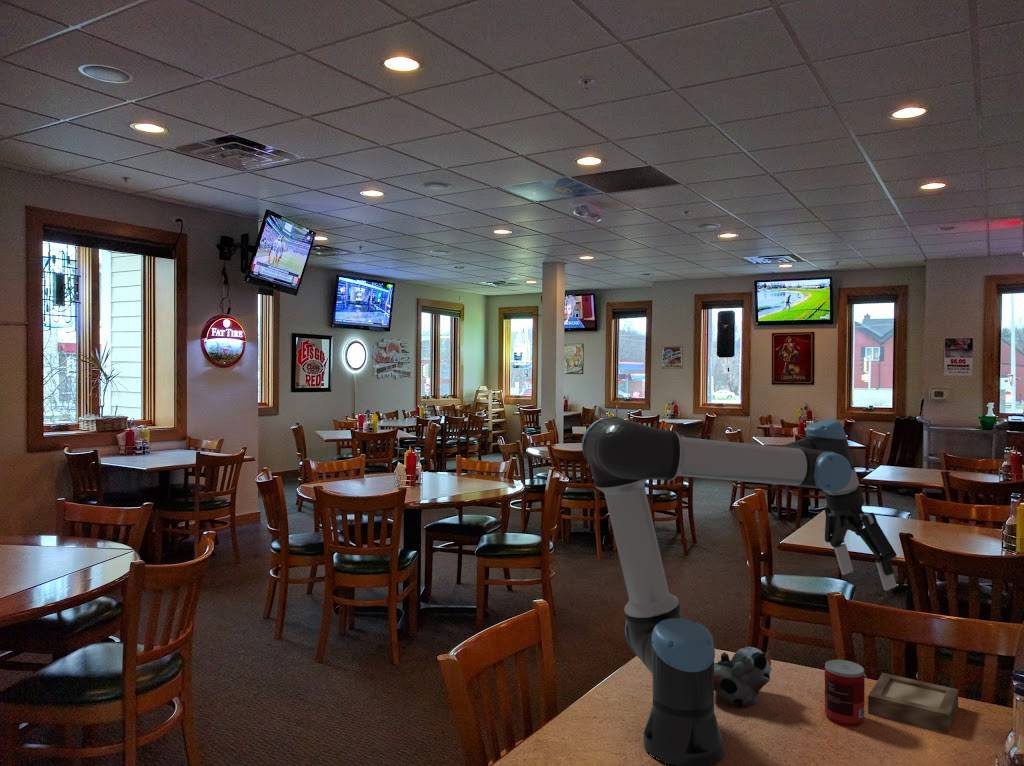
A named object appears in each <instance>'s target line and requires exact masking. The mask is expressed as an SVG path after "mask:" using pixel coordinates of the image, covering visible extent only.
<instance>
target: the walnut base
mask: <svg viewBox="0 0 1024 766" xmlns="http://www.w3.org/2000/svg"><path fill="white" fill-rule="evenodd" d="M867 697H868V698H867V713H868V714H870V715H873V716H878V717H882V718H885V719H889V720H893V721H896V722H897V721H898V722H901V723H905V724H909V725H913V726H917V727H919V728H926V729H928V728H930V729H929V730H932V729H933V731H936V730H938V731H937V732H940V731H941V732H940V733H944V732H945V734H948V733H949V732H951V730H950V729H952V727H953V724H954V721H955V718H954V717H956V715H955V714H957V712H958V709H959V689H958V688H954V687H948V686H944V685H940V684H934V683H931V682H926V681H922V680H918V679H912V678H908V677H904V676H899V675H894V674H890V673H885V672H882V673H881V674H880V676H879V678H878V679H877V681H876V683H874V686H872V689H871V690H870V692H869V693H868V696H867ZM957 708H958V709H957ZM956 711H957V712H956ZM953 720H954V721H953ZM952 723H953V724H952ZM951 726H952V727H951ZM949 734H950V733H949Z"/></svg>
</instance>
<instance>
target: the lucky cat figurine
mask: <svg viewBox="0 0 1024 766" xmlns="http://www.w3.org/2000/svg"><path fill="white" fill-rule="evenodd" d="M771 666H772V658H771V652H770V651H767V652H763V651H762V650H761V649H758V648H757V647H753V646H746V647H743V648H739V649H738V650H736V651H735V652H734V655H732V658H731V660H730V656H729V654H728V653H726V651H724V652H722V653H721V655H720V660H719V661H718V662H714V692H716V693H717V694H718V695H719V696H720V697H721V698H723V699H724V700H726V701H727V702H730V703H732V705H735V704H738V706H739V708H746V707H749V706H750V705H751V706H752V705H754V704H756V703H757V702H758V700H759V693H760V690H761V689H762V688H764V686H765V685H766V684H768V683H769V682H770V681H771V677H770V675H771V671H772V667H771Z"/></svg>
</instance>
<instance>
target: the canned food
mask: <svg viewBox="0 0 1024 766" xmlns="http://www.w3.org/2000/svg"><path fill="white" fill-rule="evenodd" d="M824 665H825V666H824V714H825V716H826V718H827V719H828V720H829V721H830V722H832V723H833V724H836V725H839V726H843V727H850V728H851V727H858V726H861V725H862V724H863V723H864V721H865V683H866V682H865V669H864V667H863V666H861V665H860V664H858V663H856V662H853V661H850V660H846V659H845V660H844V659H832V660H828V661H826V662H825V663H824Z"/></svg>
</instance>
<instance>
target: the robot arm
mask: <svg viewBox="0 0 1024 766" xmlns="http://www.w3.org/2000/svg"><path fill="white" fill-rule="evenodd" d="M805 433H806V434H805V435H806V436H805V437H803V438H801V439H797V440H796V441H792V442H789V443H786V444H783V445H780V446H776V445H767V444H757V443H747V442H735V441H727V440H718V439H717V440H716V439H715V440H714V439H706V438H704V439H703V438H696V437H695V438H694V437H685V436H680V434H679V433H678V432H677V431H676V430H666V429H661V428H656V427H652V426H648V425H646V424H642V423H639V422H636V421H633V420H628V419H624V418H622V417H618V416H610V417H604V418H600V419H598V420H596V421H594V422H592V423H591V424H590V425H589V426H588V428H586V430H585V432H584V434H583V437H582V439H581V441H582V442H581V450H582V453H583V456H584V460H585V461H586V462H587V464H588V465H590V466H589V467H590V471H591V474H592V478H593V481H594V487H595V488H596V489H597V490H599V491H601V492H602V493H603V494H604V498H605V502H606V506H607V512H608V515H609V519H610V523H611V528H612V533H613V537H614V540H615V545H616V549H617V554H618V558H619V561H620V566H621V567H620V568H621V570H622V575H623V579H624V584H625V587H626V592H627V595H628V602H627V603H626V604H625V606H624V608H623V610H624V614H625V619H626V621H625V625H624V626H625V627H624V632H625V637H626V642H627V644H628V646H629V647H630V649H631V651H632V652H633V654H634V655H635V656H636V657H637V658H638V659H639V660H640V661H641V662H642V664H644V666H645V667H646V668H647V669H648V671H649V672H650V673H651V675H652V706H651V710H650V712H649V715H648V719H647V722H646V724H645V727H644V730H643V748H644V747H645V748H644V750H645V749H646V750H647V751H648V752H649V753H650V754H651V755H652V756H654V757H656V758H657V759H659V760H661V761H663V762H666V763H669V764H671V765H670V766H672V765H676V766H708V765H710V766H712V765H711V764H713V765H715V764H716V763H715V762H717V761H718V762H719V761H721V760H722V758H723V756H724V740H723V739H724V738H723V735H722V733H721V729H720V726H719V723H718V720H717V716H716V713H715V690H714V663H715V659H716V650H715V645H714V638H713V635H712V634H711V632H710V631H709V629H708V628H707V627H706V626H705V625H703V624H701V623H699V622H693V621H692V620H690V619H687V618H683V614H682V611H681V605H680V602H679V598H678V597H677V596H676V595H674V594H672V593H671V592H670V590H669V585H668V583H667V581H668V580H667V578H666V577H667V576H666V573H665V569H664V563H663V560H662V556H661V551H660V547H659V542H658V539H657V534H656V530H655V525H654V521H653V517H652V513H651V509H650V503H649V500H648V494H647V491H646V487H645V484H646V482H647V480H660V481H661V480H662V481H663V480H664V481H673V480H675V479H676V478H677V477H690V478H700V479H712V480H713V479H714V480H723V481H725V480H726V481H736V482H746V483H747V482H748V483H758V484H759V483H761V484H769V485H773V486H779V485H781V486H782V485H783V486H795V487H803V488H814V489H820V490H821V491H823V492H824V497H825V501H826V505H827V506H825V507H824V508H823V509H824V513H825V514H824V515H825V526H824V541H825V542H826V543H829V544H830V546H831V547H832V548H833V550H834V553H835V554H834V555H835V557H836V560H837V563H838V566H839V569H840V572H841V576H842V575H843V576H845V575H848V574H850V573H853V572H854V568H853V567H854V566H853V564H852V561H851V557H850V554H849V550H848V547H847V544H846V541H845V538H846V535H847V532H848V531H850V532H853V533H854V534H855V535H856V536H857V537H858V536H859V537H860V539H861V540H862V541H863V542H864V543H865V544H866V546H867V547H868V548H869V550H870V551H871V552H872V554H873V555H874V556H875V557H876V560H875V563H876V568H877V569H878V570H877V571H878V574H879V577H880V580H881V581H880V582H881V586H882V589H883V590H884V591H889V590H891V589H894V588H896V587H897V583H896V578H895V576H894V574H895V573H894V568H893V564H892V562H891V560H892V559H895V558H896V557H897V555H898V554H897V553H896V551H895V549H894V548H893V546H892V545H891V542H890V541H889V539H888V538H887V536H886V534H885V533H884V531H883V530H882V528H881V526H880V524H879V523H878V520H877V517H876V515H875V513H874V512H870V513H865V512H864V510H863V509H862V508H863V505H865V497H864V495H863V491H862V488H861V486H860V482H859V481H860V480H859V479H858V478H859V477H858V475H857V470H856V468H855V465H854V459H853V457H852V452H851V450H850V445H849V442H848V437H847V434H846V432H845V428H844V427H843V424H842V423H841V421H839V420H837V419H833V418H831V419H823V420H819V421H816V422H812V423H810V424H809V425H807V426H806V428H805ZM646 750H645V751H646ZM647 751H646V752H647ZM651 755H650V756H651ZM652 756H651V757H652ZM657 759H656V760H657ZM659 760H658V761H659ZM661 761H660V762H661ZM663 762H662V763H663ZM718 762H717V763H718ZM666 763H665V764H666ZM714 763H715V764H714ZM669 764H668V765H669Z"/></svg>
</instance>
